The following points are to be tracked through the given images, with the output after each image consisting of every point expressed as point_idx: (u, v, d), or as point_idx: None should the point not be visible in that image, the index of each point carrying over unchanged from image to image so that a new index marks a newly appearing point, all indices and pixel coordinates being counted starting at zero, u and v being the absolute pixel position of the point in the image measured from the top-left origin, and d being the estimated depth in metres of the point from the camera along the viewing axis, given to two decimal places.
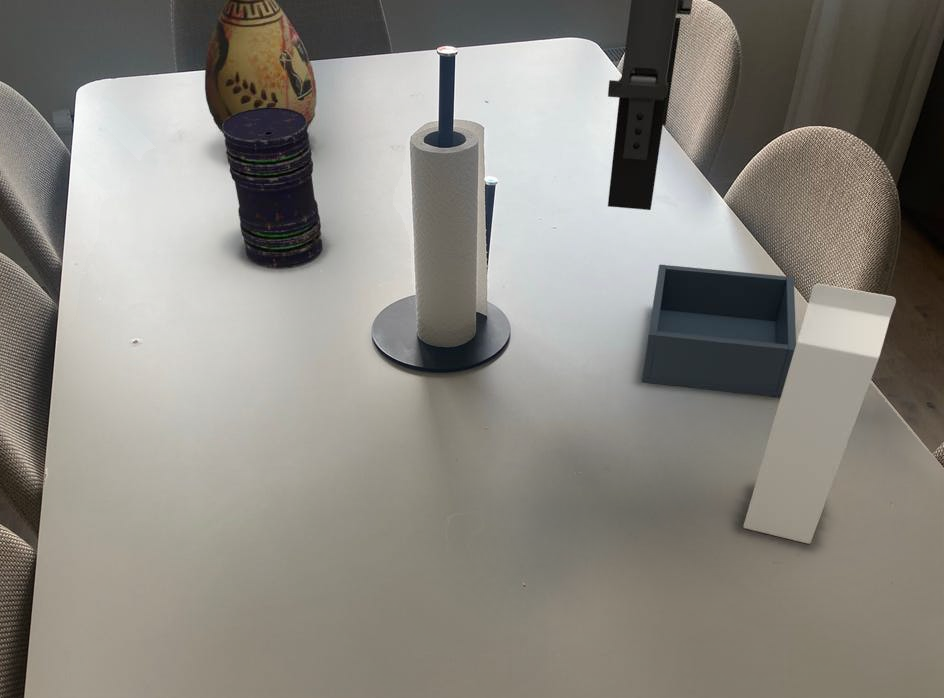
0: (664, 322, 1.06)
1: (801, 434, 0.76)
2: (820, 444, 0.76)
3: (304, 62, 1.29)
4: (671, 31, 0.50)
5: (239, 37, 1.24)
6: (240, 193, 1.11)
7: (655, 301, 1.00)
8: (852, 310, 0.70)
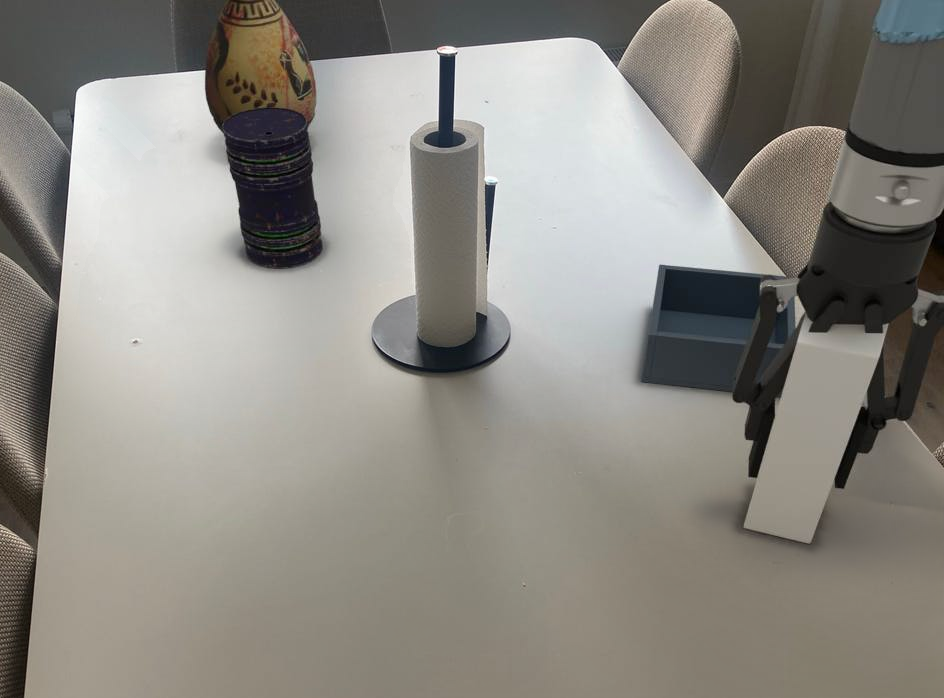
0: (664, 322, 1.06)
1: (801, 434, 0.76)
2: (820, 444, 0.76)
3: (304, 62, 1.29)
4: None
5: (239, 37, 1.24)
6: (240, 193, 1.11)
7: (655, 301, 1.00)
8: None
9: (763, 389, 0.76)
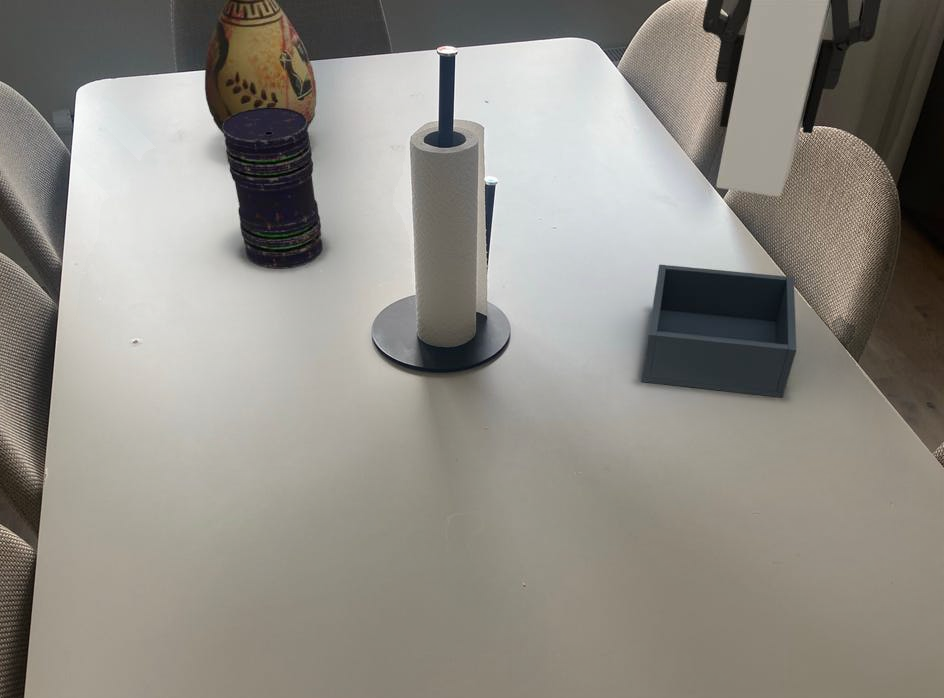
0: (664, 322, 1.06)
1: (769, 58, 0.79)
2: (787, 69, 0.79)
3: (304, 62, 1.29)
4: None
5: (239, 37, 1.24)
6: (240, 193, 1.11)
7: (655, 301, 1.00)
8: None
9: (732, 14, 0.78)
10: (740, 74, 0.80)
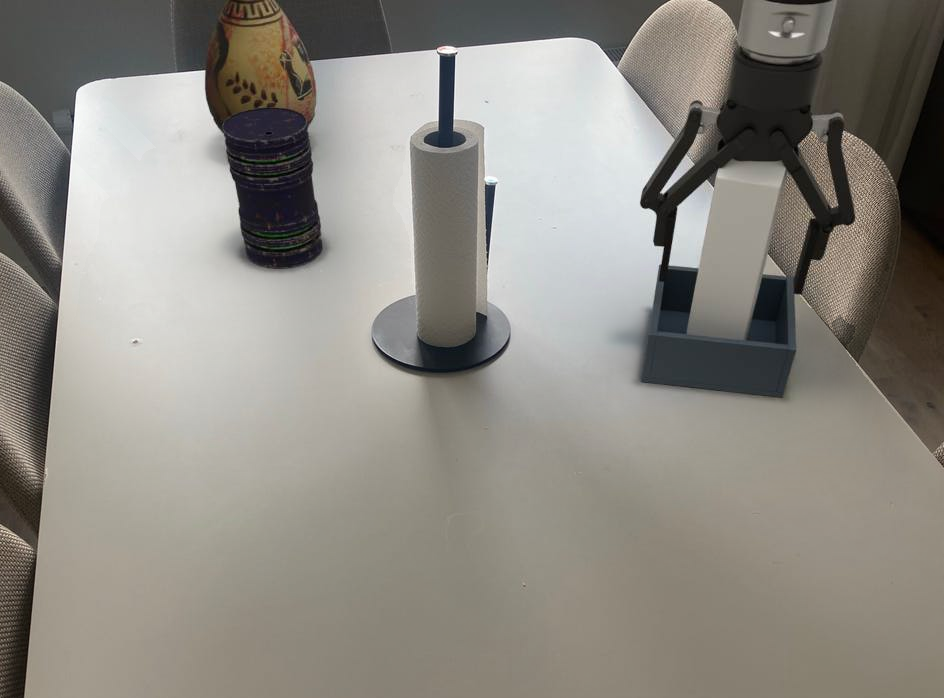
0: (664, 322, 1.06)
1: (724, 261, 0.93)
2: (739, 270, 0.93)
3: (304, 62, 1.29)
4: (848, 180, 0.89)
5: (239, 37, 1.24)
6: (240, 193, 1.11)
7: (655, 301, 1.00)
8: None
9: (670, 196, 0.91)
10: (700, 271, 0.95)
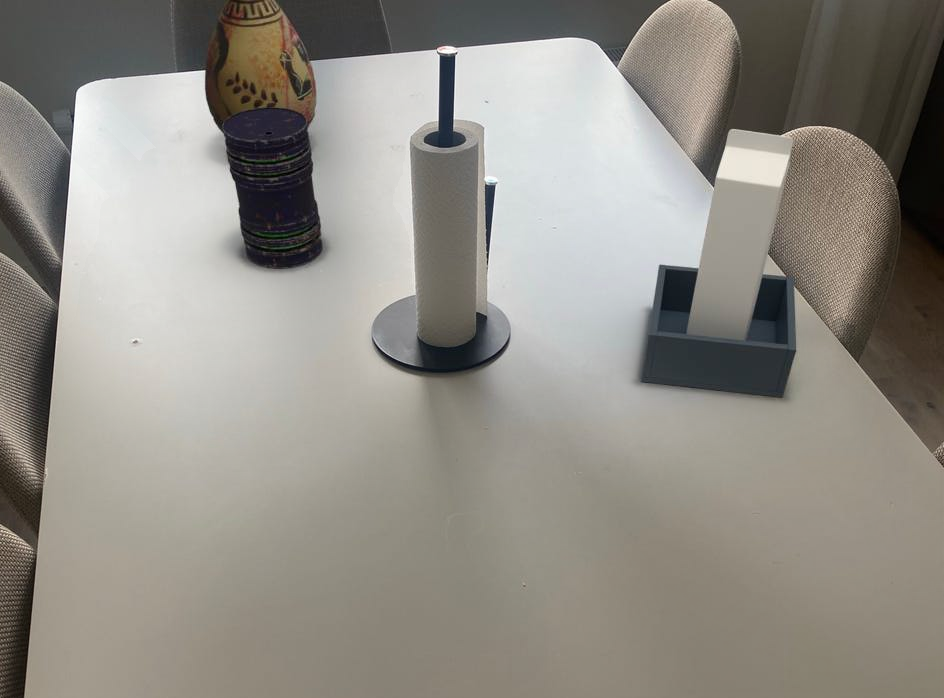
0: (664, 322, 1.06)
1: (724, 261, 0.93)
2: (739, 270, 0.93)
3: (304, 62, 1.29)
4: None
5: (239, 37, 1.24)
6: (240, 193, 1.11)
7: (655, 301, 1.00)
8: (760, 151, 0.87)
9: None
10: (700, 271, 0.95)
